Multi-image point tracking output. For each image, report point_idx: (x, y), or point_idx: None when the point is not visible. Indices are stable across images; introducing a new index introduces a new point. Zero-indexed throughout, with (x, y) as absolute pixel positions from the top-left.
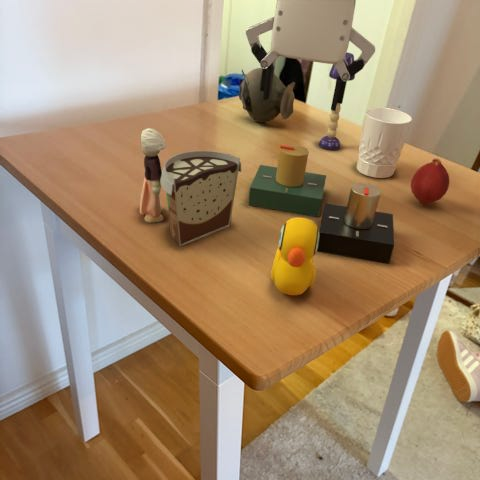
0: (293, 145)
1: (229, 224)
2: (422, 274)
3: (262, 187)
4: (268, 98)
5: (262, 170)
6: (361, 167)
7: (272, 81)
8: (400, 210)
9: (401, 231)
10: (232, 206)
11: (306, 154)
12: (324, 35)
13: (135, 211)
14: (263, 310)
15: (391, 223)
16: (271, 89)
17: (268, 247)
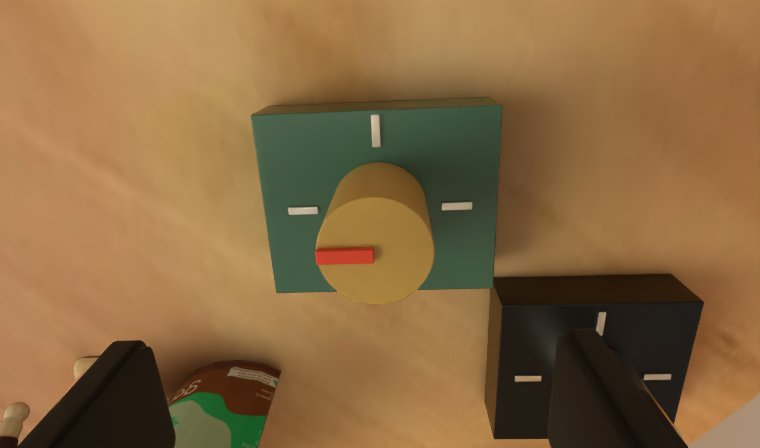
0: (363, 212)
1: (279, 374)
2: (713, 413)
3: (310, 282)
4: (173, 438)
5: (273, 161)
6: None
7: (108, 416)
8: (747, 126)
9: (714, 256)
10: (270, 404)
11: (428, 274)
12: None
13: (67, 378)
14: None
15: (686, 352)
16: (137, 376)
17: (383, 416)
